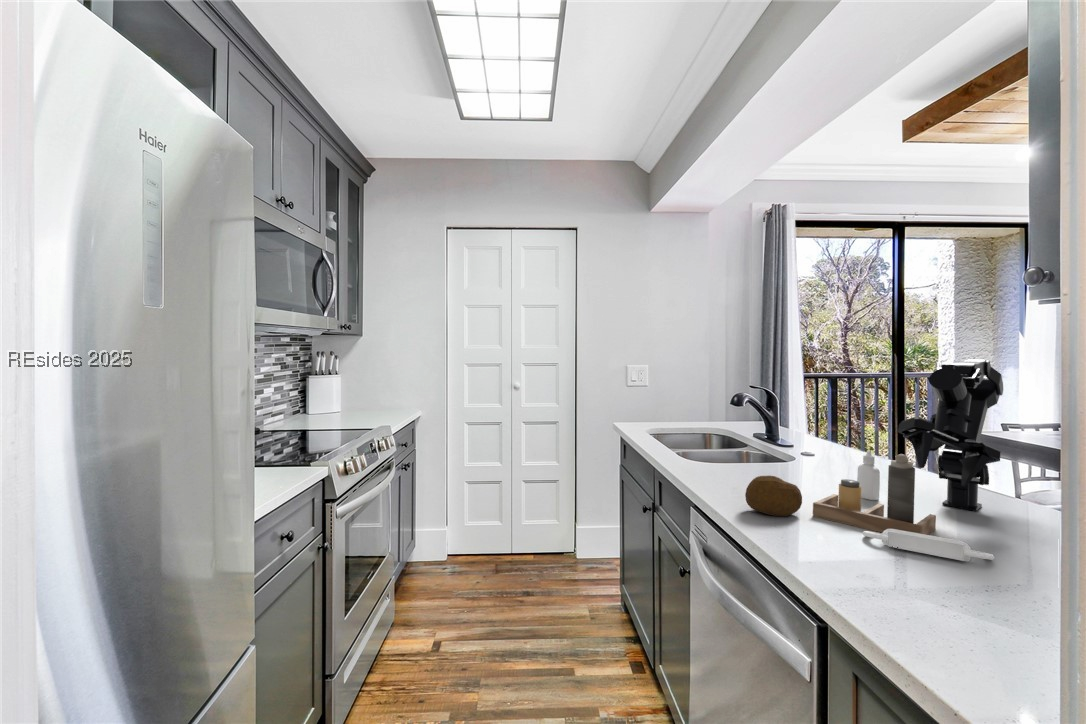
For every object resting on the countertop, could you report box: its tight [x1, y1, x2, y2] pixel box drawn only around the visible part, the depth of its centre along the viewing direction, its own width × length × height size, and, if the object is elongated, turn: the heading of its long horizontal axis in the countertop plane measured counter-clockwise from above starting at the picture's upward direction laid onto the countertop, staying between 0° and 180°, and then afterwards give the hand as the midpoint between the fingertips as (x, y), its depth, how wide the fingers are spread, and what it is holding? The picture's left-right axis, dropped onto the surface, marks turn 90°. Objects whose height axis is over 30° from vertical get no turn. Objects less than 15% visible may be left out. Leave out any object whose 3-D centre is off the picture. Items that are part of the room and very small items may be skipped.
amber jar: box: [838, 478, 862, 512], centre depth 117 cm, size 4×4×8 cm
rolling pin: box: [862, 529, 995, 562], centre depth 98 cm, size 20×8×4 cm, turn 54°
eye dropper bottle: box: [856, 450, 881, 501], centre depth 132 cm, size 4×6×12 cm
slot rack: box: [812, 493, 937, 535], centre depth 113 cm, size 11×20×3 cm, turn 40°
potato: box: [744, 475, 803, 517], centre depth 118 cm, size 8×12×9 cm
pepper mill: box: [886, 453, 916, 524], centre depth 109 cm, size 5×5×16 cm
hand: (942, 476), depth 111 cm, fingers open, 9 cm apart
